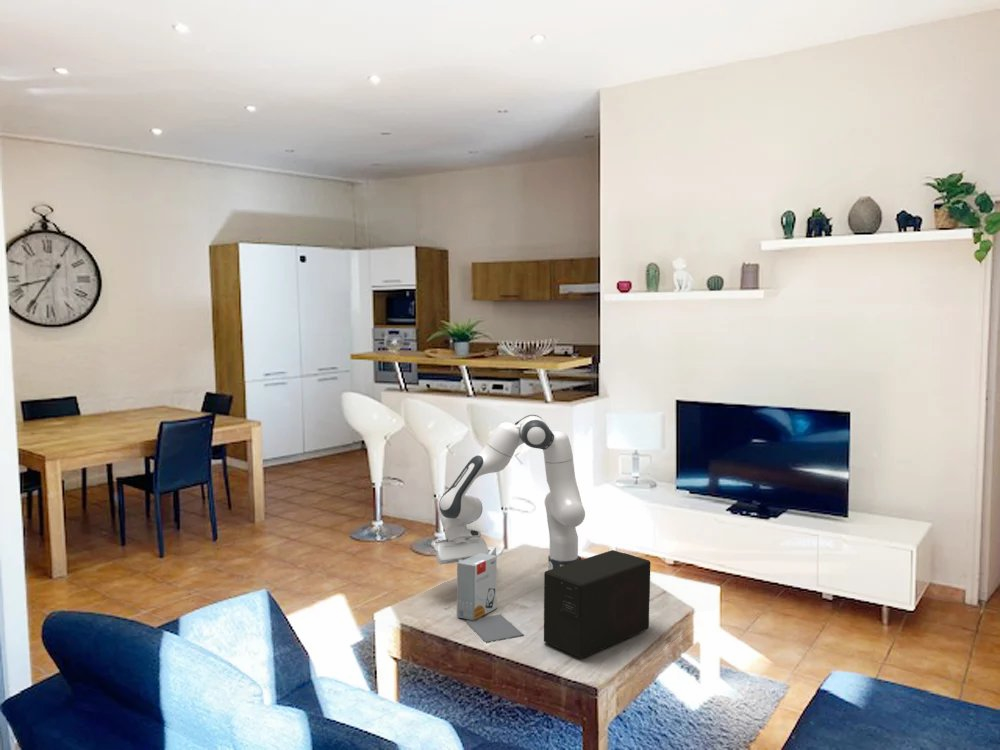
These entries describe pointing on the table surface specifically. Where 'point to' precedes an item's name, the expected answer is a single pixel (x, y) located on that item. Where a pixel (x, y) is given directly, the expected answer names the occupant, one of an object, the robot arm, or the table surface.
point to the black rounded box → (596, 602)
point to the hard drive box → (476, 586)
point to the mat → (494, 628)
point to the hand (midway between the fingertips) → (467, 570)
